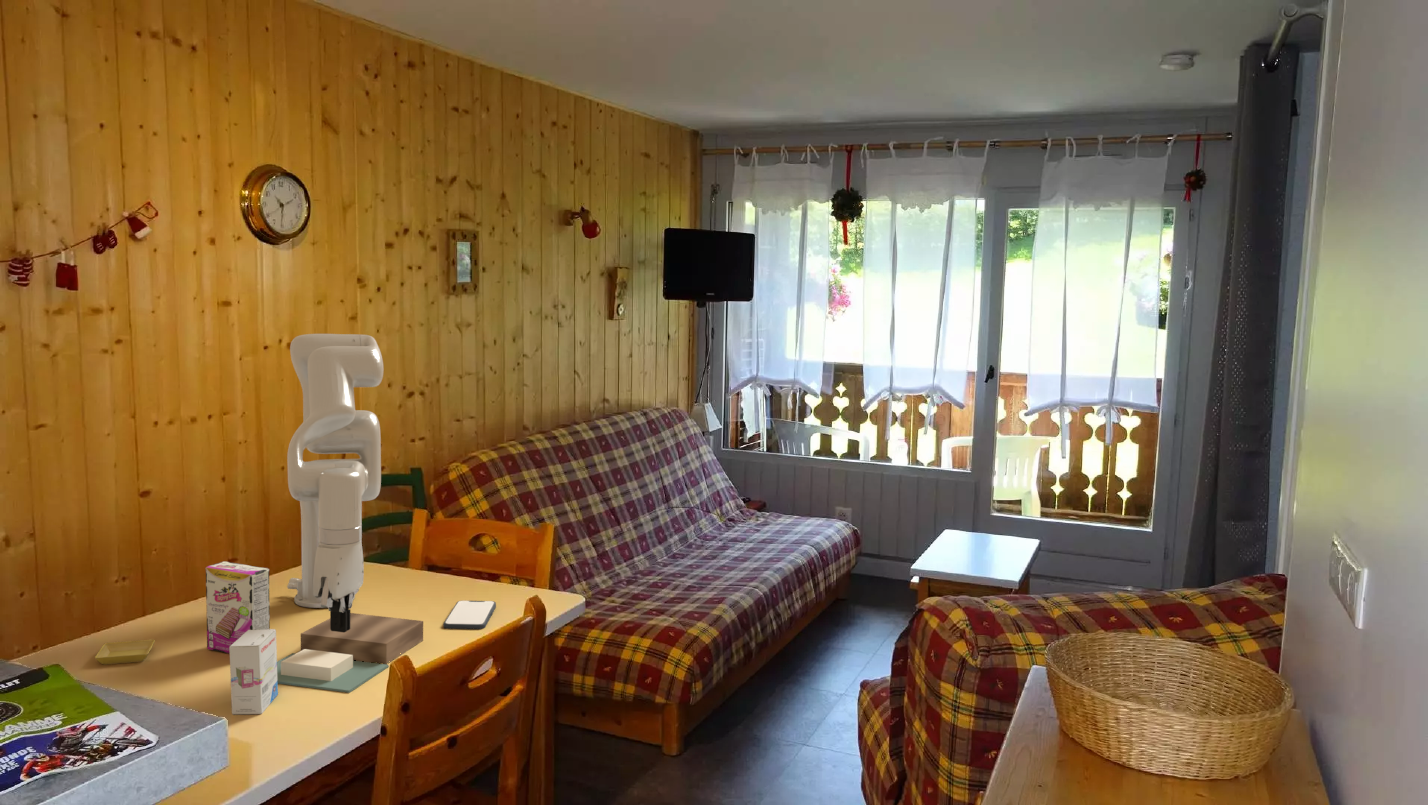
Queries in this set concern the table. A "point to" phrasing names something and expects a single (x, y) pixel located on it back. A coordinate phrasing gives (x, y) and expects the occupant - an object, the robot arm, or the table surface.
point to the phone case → (470, 615)
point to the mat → (341, 683)
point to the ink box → (253, 671)
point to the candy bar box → (235, 602)
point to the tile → (317, 664)
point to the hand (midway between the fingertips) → (340, 630)
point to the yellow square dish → (124, 652)
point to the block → (366, 637)
